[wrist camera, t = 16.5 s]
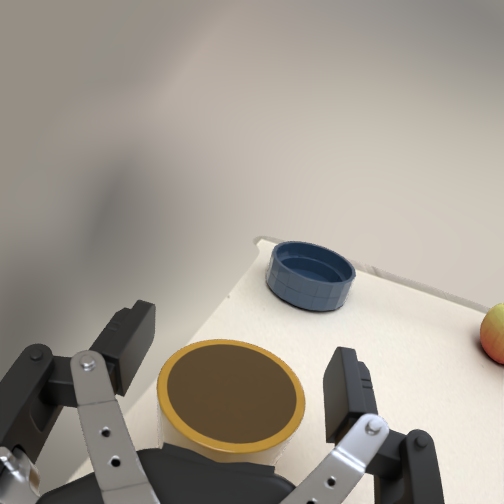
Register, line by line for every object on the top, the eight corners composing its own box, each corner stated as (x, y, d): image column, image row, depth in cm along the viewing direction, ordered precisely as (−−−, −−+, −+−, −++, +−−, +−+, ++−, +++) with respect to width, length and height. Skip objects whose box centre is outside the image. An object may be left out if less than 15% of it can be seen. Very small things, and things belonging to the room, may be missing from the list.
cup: (158, 515, 13) (145, 442, 9) (166, 441, 19) (167, 329, 14) (255, 522, 14) (318, 452, 10) (250, 450, 20) (294, 344, 15)
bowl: (270, 309, 38) (279, 277, 36) (261, 263, 48) (268, 236, 46) (355, 318, 39) (367, 289, 37) (332, 273, 49) (340, 248, 47)
